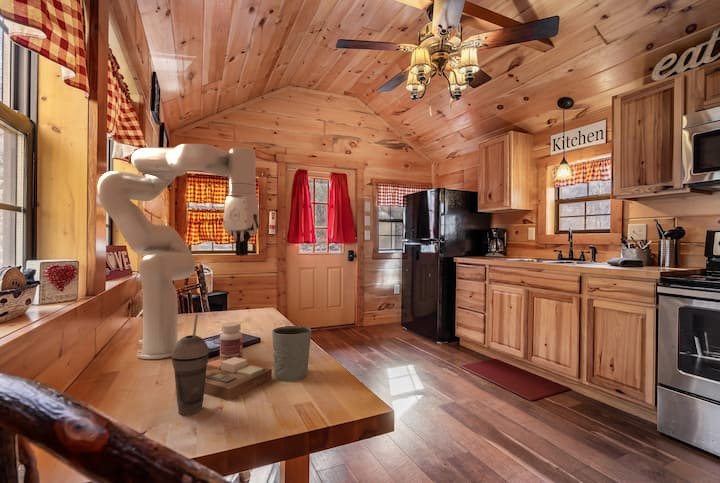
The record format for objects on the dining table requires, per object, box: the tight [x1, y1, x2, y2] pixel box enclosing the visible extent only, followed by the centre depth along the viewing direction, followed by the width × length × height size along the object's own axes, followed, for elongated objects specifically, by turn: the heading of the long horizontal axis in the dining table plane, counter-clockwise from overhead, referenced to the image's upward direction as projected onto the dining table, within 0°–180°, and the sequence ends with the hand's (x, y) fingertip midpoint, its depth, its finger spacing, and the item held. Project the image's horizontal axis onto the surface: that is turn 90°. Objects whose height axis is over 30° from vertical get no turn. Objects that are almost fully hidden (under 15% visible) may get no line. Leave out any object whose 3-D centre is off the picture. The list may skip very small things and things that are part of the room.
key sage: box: [237, 365, 264, 377], centre depth 93 cm, size 4×4×2 cm
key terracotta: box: [206, 358, 225, 370], centre depth 98 cm, size 4×4×2 cm
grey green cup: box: [271, 325, 313, 382], centre depth 98 cm, size 10×10×12 cm
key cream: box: [221, 357, 248, 373], centre depth 96 cm, size 4×4×2 cm
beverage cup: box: [170, 314, 210, 416], centre depth 78 cm, size 7×7×20 cm
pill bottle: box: [219, 321, 243, 360], centre depth 107 cm, size 6×6×11 cm
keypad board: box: [204, 358, 273, 401], centre depth 93 cm, size 18×14×3 cm
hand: (241, 255), depth 108 cm, fingers closed
